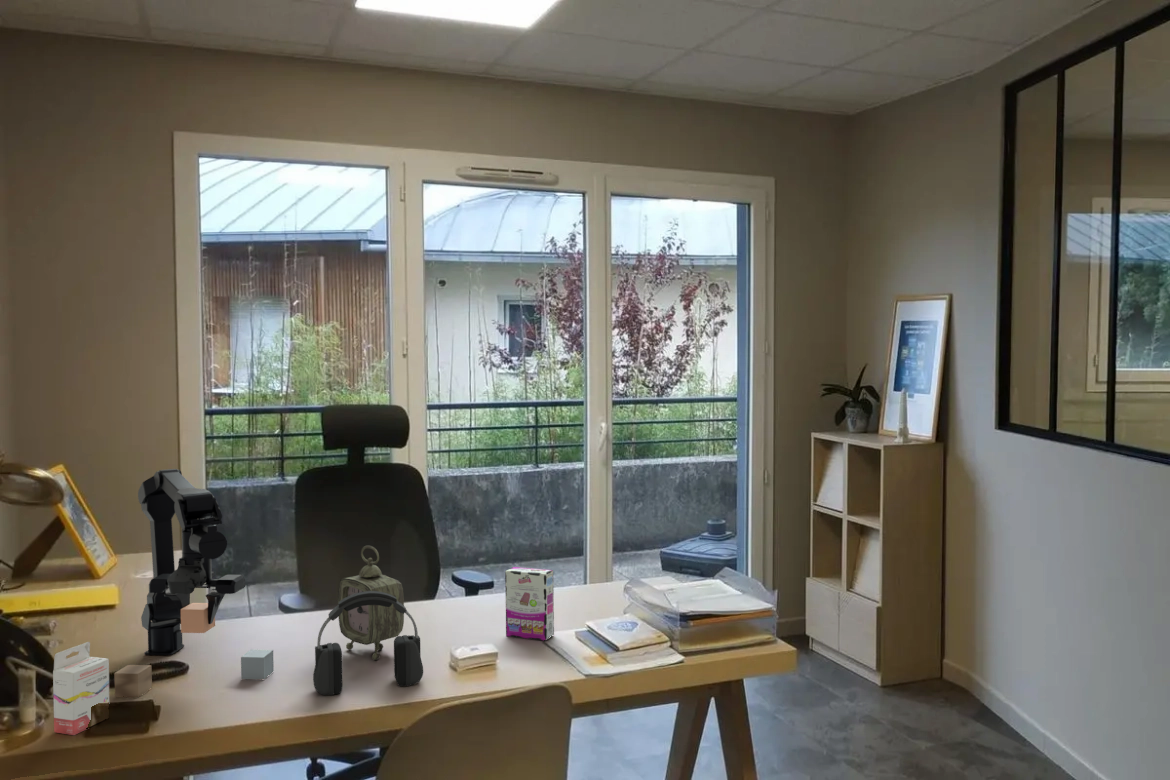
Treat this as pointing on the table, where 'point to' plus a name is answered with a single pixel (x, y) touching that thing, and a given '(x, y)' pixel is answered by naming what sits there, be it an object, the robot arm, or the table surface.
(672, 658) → the table surface
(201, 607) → the terracotta cube
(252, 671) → the slate grey cube
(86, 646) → the ink cartridge box
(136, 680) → the walnut cube
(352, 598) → the headphones
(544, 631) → the candy bar box
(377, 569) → the tabletop clock
